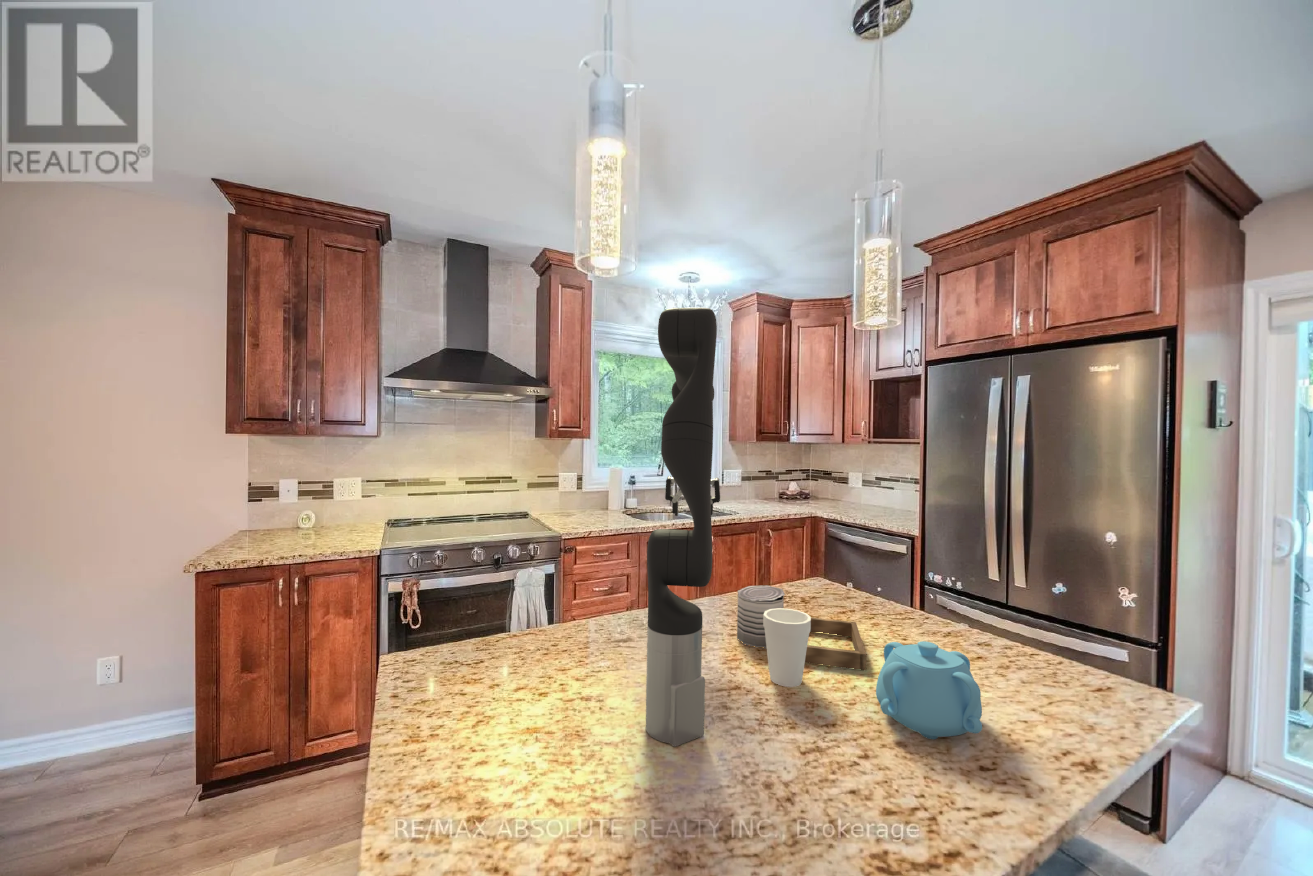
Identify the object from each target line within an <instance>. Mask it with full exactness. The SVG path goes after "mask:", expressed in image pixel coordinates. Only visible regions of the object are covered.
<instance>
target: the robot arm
mask: <svg viewBox="0 0 1313 876" xmlns="http://www.w3.org/2000/svg"><path fill="white" fill-rule="evenodd" d="M657 323H658V324H657V339H658V346H659V348H660V352H661V353H662V357H663V358H664V359H665V360H666V363H668V365H669V367H670V368H671V370H672V371H673V373H674V377H675V381H674V383H673V384H672V387H671V396H672V402H671V404H670V406H668V409H667V410H666V412H665V414H664V416H663V418H662V423H661V425H662V426H661V443H660V445H661V447H660V454H661V457H662V461H663V462H664V464H665V467H666V468H667V470H668V472H669V474H670V475H668V476H667V477H666V479H665V493H664V498H665V500H666V501H670V502H671V505H672V506H671V508H672V510H671V511H672V514H673V515H674V516H676V517H678V516H679V499H680V498H681V497H682V496H683V498H684V500H685V502H686V504H687V507H688V510H689V512H690V514H691V517H692V521H693V528H692V529H670V528H658V529H654V530H653V531H651V533H650V535H649V536H648V537H649V538H648V540H647V550H646V567H647V568H646V569H647V571H646V572H647V591H648V592H647V633H646V635H647V637H646V638H647V639H646V640H647V641H646V677H645V678H646V681H645V682H646V683H645V684H646V685H645V688H646V689H645V730H646V732H647V734H648V735H649V736H650V737H651V738H653V739H655V740H657V741H659V742H662V743H667V744H670V745H672V746H673V747H677V746H681V745H683V744H686V743H688V742H690V741H693V740H695V739H698V738H700V737H702V736H703V737H704V735H705V705H706V704H705V700H706V699H705V698H706V696H705V695H706V694H705V693H706V678H705V677H704V676H703V675H702V655H703V651H702V650H703V611H702V610H701V608H700V607H699V606H698V605H697V604H695V603H693V602H691V601H689V600H686V599H684V598H682V597H680V596H678V595H677V594H676V593H674V592H673V591H672V590H671V589H670V588H669V586H670V587H671V586H672V587H673V586H674V587H675V586H676V587H691V588H692V587H693V588H695V587H696V588H703V587H707V586H708V584H709V583H710V580H711V578H712V573H713V571H712V570H713V532H712V531H713V530H712V528H713V527H712V516H713V514H714V504H716V503H720V502H721V485H720V478H719V477H715V478H712V468H713V451H714V414H713V413H714V407H713V406H714V405H713V404H714V399H715V388H714V373H715V362H716V361H715V359H716V350H717V349H716V348H717V336H718V335H717V333H718V329H717V328H718V327H717V326H718V325H717V324H718V323H717V317H716V314H715V312H714V311H713V309H711V308H709V307H672V308H667V309H665V310H663V311H662V312H661V313H660V314H659V318H658V322H657ZM675 484H676V485H677V487H678V488H679V489H678V490H677V492H676V493H675V494H674V495H673V494H672V486H674V485H675ZM712 488H713V489H714V496H712V494H711V493H712V491H711V490H712Z"/></svg>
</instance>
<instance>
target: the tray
mask: <svg viewBox="0 0 1313 876" xmlns="http://www.w3.org/2000/svg"><path fill="white" fill-rule="evenodd" d="M810 617H811V616H810ZM810 632H823V633H829V634H837V635H842V636H841V637H845V636H851V637H852V638H851V637H850V638H851V641H853V642H852V646H853V649H855V650H852V649H851V650H850V649H843V648H842V649H841V648H833V647H828V646H827V647H825V646H820V645H819V646H818V645H810V644H807V651H806V657H805V664H811V665H818V664H823V665H822V666H826V665H830V666H829V667H833V666H836V667H835V668H841V667H842V669H843V668H844V669H849V668H854V669H853V670H856V669H861V670H860V671H864V670H866V668H867V653H866V650H865V647H864V643H863V641H862V637H861V633H860V631H859V627H858V623H857V622H856V621H847V620H839V619H830V618H822V617H819V618H818V617H811V630H810Z"/></svg>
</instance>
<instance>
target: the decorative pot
mask: <svg viewBox="0 0 1313 876" xmlns="http://www.w3.org/2000/svg"><path fill="white" fill-rule="evenodd" d="M883 657H884V663H883V665H882V667H881V669H880V671H879V674H878V678H877V681H876V686H875V697H876V699H877V701H878V703H879V705H880V706H879V708H880V710H881V711H882V713H883V714H884V715H886V716H889V717H891V718H892V719H893V720H895V721H896V722H897V723H899V724H901V725H902V726H903V727H906V728H908V729H909V730H912V731H914V732H916V733H919V734H920V735H921V736H922V737H924V738H926V739H929V740H937V739H938V738H939V737H940V738H942V737H943V738H944V737H955V736H961V735H964V734H967V733H968V732H969V733H970V734H979V733H981V732H982V730H983V724H982V721H981V718H982V715H983V706H982V699H981V697H982V696H981V695H982V694H981V689H980V686H979V685H978V683H977V681H976V680H975V678H974V676H973V674H972V672H971V662H970V660H969V657H968V656H966V654H964V653H962V652H960V651H957V650H952V651H948V650H945V649H943V648H941V647H939V646H938V645H937V644H935V643H934V642H930V641H925V640H922V641H918V642H917V643H915V644H914V643H913V644H902V643H900V642H899V641H890V642H888V643H886V644H885V646H884V647H883Z"/></svg>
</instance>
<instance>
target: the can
mask: <svg viewBox="0 0 1313 876" xmlns="http://www.w3.org/2000/svg"><path fill="white" fill-rule="evenodd" d="M785 596H786V594H785V592H784V590H783V588H779V587H775V586H771V585H748V586H746V587H743V588H740V589H739V590H737V613H736V614H737V616H736V617H737V619H736V620H737V621H736V624H737V626H736V627H737V628H736V639H737V640H738V639H739V640H740V641H742V642H743V644H742V645H744V644H746V645H745V646H748V645H750V646H749V647H751V646H755V647H764V648H763V649H767V647H766V638H765V629H764V626H763V614H764V612H765V611H767V610H769V609H776V608H784V605H785V604H784V597H785ZM739 640H738V641H739ZM740 641H739V642H740ZM755 647H754V648H755Z"/></svg>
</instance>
